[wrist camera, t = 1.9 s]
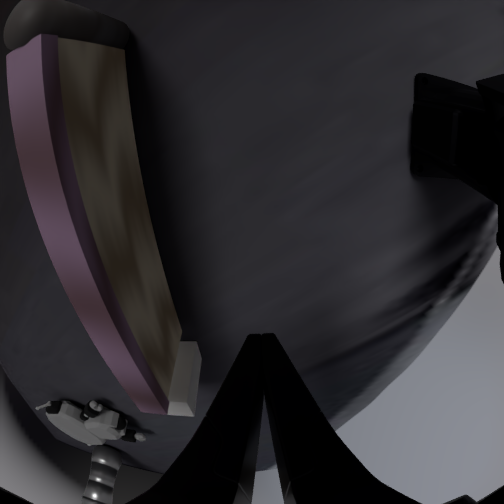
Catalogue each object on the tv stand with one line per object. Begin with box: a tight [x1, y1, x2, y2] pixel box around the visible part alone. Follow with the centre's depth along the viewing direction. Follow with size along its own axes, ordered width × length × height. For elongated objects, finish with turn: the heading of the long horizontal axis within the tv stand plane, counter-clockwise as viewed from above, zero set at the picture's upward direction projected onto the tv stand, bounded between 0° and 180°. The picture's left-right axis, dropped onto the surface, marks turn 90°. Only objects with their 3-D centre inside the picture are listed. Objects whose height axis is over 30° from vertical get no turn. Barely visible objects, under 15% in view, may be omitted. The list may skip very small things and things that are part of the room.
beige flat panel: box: [4, 0, 182, 415], centre depth 13 cm, size 22×2×8 cm, turn 4°
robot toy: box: [36, 401, 146, 446], centre depth 32 cm, size 12×4×15 cm
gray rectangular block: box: [167, 341, 202, 416], centre depth 21 cm, size 3×2×6 cm
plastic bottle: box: [82, 445, 122, 504], centre depth 35 cm, size 6×7×20 cm
